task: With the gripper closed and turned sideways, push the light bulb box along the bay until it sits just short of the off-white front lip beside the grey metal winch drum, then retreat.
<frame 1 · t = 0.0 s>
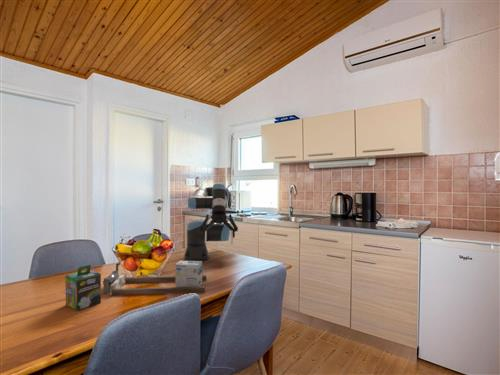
hand: (218, 243, 149), 15 cm above the table, tool tilted 35°, fingers open, 13 cm apart
winch: (111, 288, 126), on the table
chalk box: (83, 304, 109), on the table
bay: (162, 286, 128), on the table
light bulb box: (188, 286, 130), on the table
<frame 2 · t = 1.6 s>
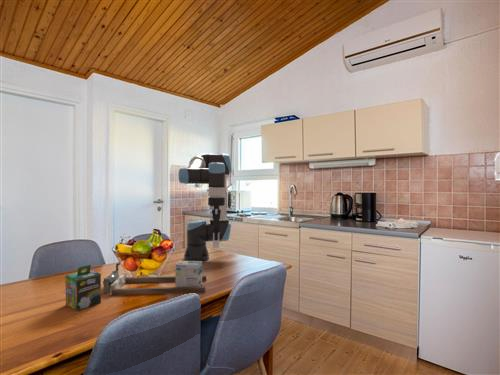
hand: (216, 244, 131), 19 cm above the table, tool pointing down, fingers open, 12 cm apart
nothing on the table moved.
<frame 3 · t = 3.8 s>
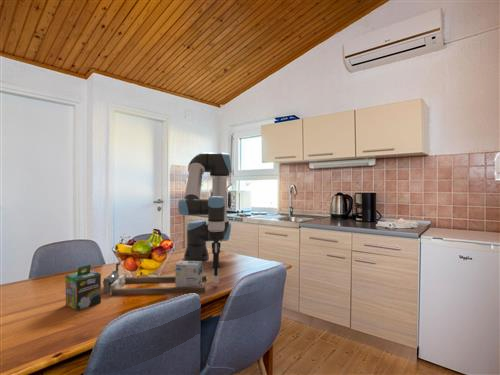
hand: (215, 281, 131), 1 cm above the table, tool pointing down, fingers closed
nothing on the table moved.
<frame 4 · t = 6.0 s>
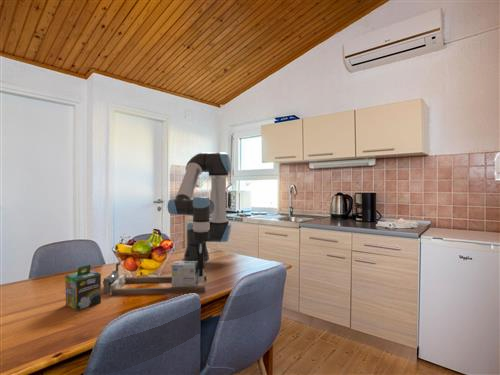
hand: (200, 282, 130), 1 cm above the table, tool pointing down, fingers closed
light bulb box: (185, 286, 129), on the table, touching gripper
everything else where it was.
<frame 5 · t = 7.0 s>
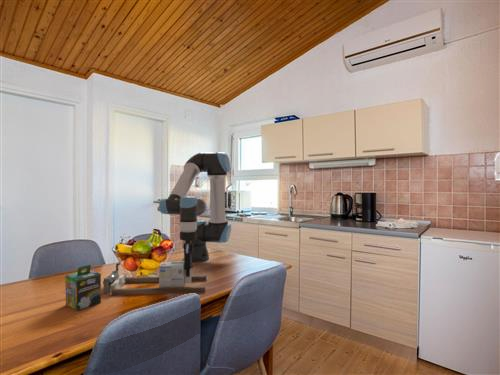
hand: (188, 282, 130), 1 cm above the table, tool pointing down, fingers closed
light bulb box: (172, 287, 128), on the table, touching gripper
everything else where it was.
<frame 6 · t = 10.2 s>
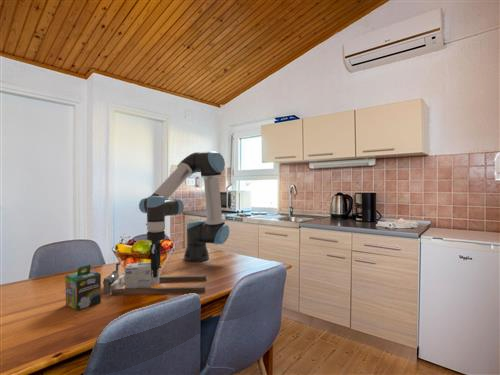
hand: (155, 283, 128), 2 cm above the table, tool pointing down, fingers closed
light bulb box: (139, 289, 125), on the table, touching gripper, hand
everything else where it was.
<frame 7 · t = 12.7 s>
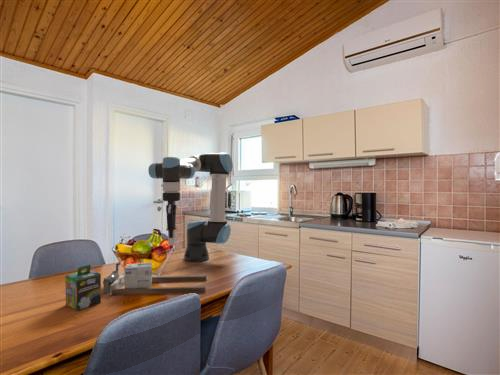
hand: (171, 244, 129), 19 cm above the table, tool pointing down, fingers closed
light bulb box: (138, 289, 125), on the table
everything else where it was.
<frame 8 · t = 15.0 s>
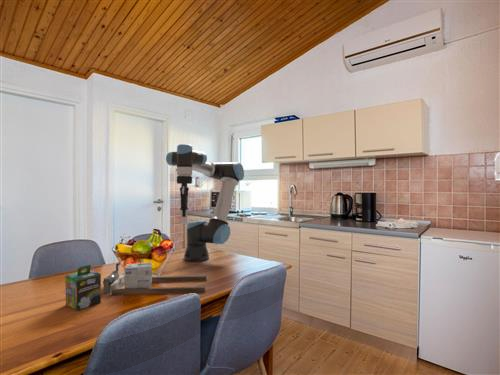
hand: (184, 222, 144), 26 cm above the table, tool pointing down, fingers closed
nothing on the table moved.
at the end: light bulb box inside the target area (2.2 cm from its centre), on the table; light bulb box tilted 0° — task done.
